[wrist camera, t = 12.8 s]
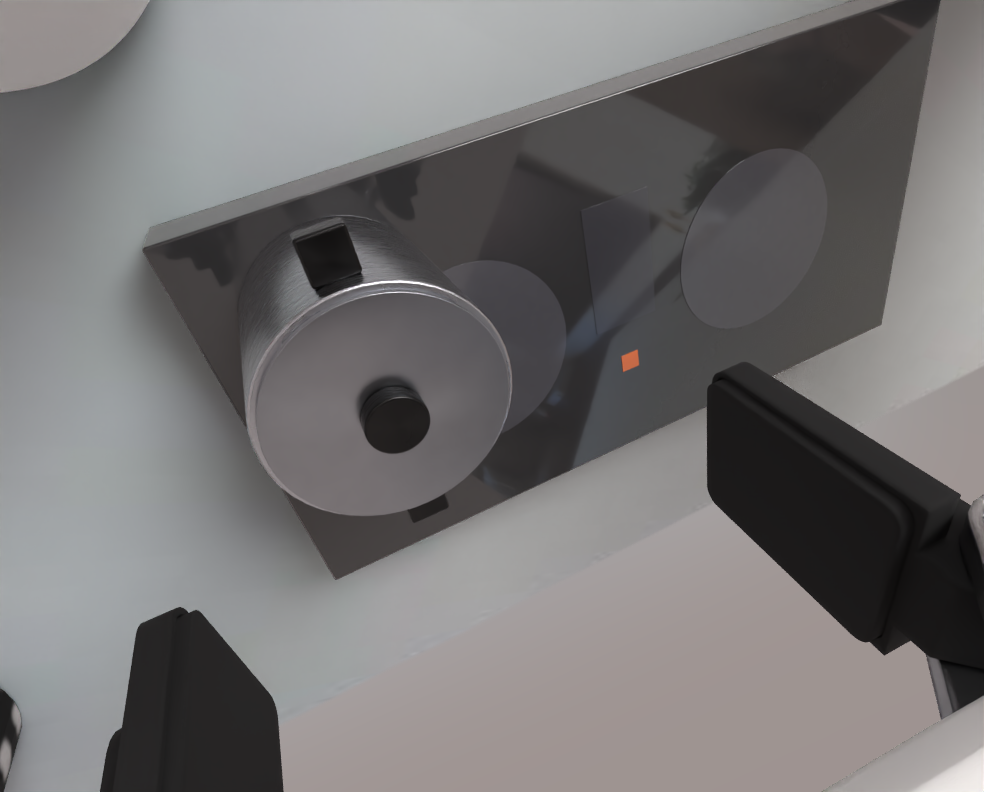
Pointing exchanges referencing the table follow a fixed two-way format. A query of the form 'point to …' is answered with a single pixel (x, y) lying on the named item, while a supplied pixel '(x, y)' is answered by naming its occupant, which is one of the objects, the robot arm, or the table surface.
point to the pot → (366, 371)
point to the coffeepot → (58, 37)
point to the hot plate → (618, 239)
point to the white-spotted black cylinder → (8, 735)
